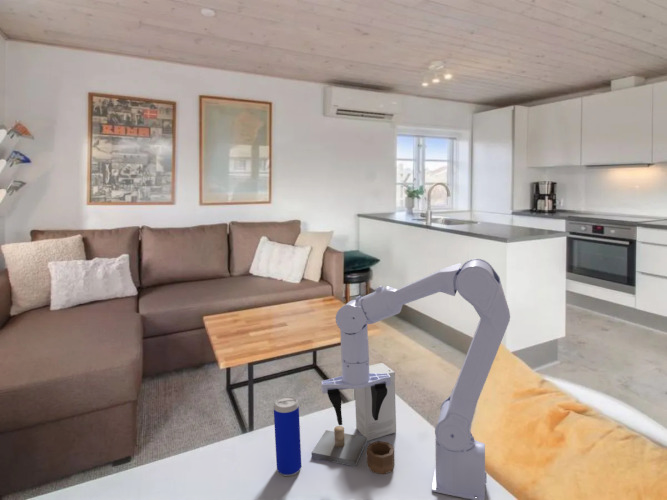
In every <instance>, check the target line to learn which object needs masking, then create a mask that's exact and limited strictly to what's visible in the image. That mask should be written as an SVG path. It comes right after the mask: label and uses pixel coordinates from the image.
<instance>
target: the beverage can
mask: <svg viewBox="0 0 667 500" xmlns="http://www.w3.org/2000/svg"><path fill="white" fill-rule="evenodd" d="M273 418H274V419H273V420H274V422H273V423H274V424H273V425H274V439H275V443H274V444H275V456H276V457H275V460H276V470H277V472H278V473H279V474H280V475H282V476H284V477H293V476H295V475H296V474H298V473H299V472H300V470H301V469H302V451H301V450H302V449H301V446H302V445H301V428H300V427H301V426H300V405H299V402H298V399H297V398H296V397H294V396H289V395H287V396H281V397H279V398H277V399H276V400H275V401H274V404H273Z"/></svg>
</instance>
